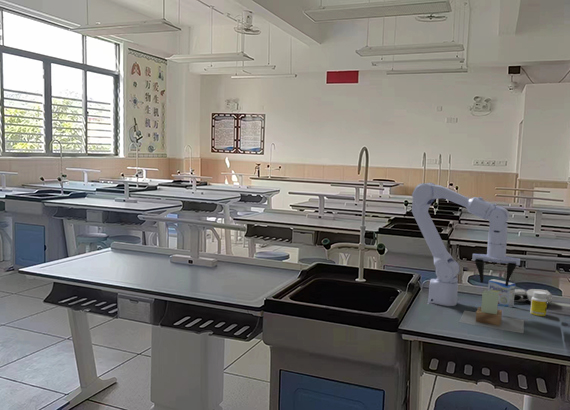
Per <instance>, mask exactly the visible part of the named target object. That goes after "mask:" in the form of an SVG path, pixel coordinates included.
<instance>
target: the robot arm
mask: <svg viewBox="0 0 570 410" xmlns="http://www.w3.org/2000/svg"><path fill="white" fill-rule="evenodd" d="M411 197H412V205H411V213H412V215H413V217H414V220H415V221H416V223H417V226H418V229H419V230H420V232H421V235H422V236H423V238H424V240H425V242H426V245H427V247H428V248H429V251H430V253H431V254H432V257H433V265H434V267H435V276H436V278H430V279H429V280H430V281H429V286H428V300H427V305H429V304H436V305H441V306H446V307H455V306H456V305H457V303H458V302H457V300H458V291H459V289H458V288H459V287H458V286H459V279H458V275H459V274H460V272H461V267H460V264H459V263H458V262H457V261H456V260H455V259H454V258H453V256H452V254H450V252H448V250H447V248H446V246H445V244H444V241H443V240H442V238H441V236H440V233H439V232H438V229H437V228H436V226H435V223H434V222H433V220H432V217H431V215H430V214H429V209H430V206H431V205H432V203H433V202H434V201H435V200H437V199H438V200H441V199H444V200H447V201H450V202H452V203H455V204H457V205H460V206H462V207H464V208H466V211H467V213H469V214H472V215H473V216H476V217H478V218H479V219H480V218H481V219H483V220H485V221H486V220H488V222H489V226H488V227H489V229H488V235H487V248H486V250H487V251H486V254H484V253H472V257H471V258H472V259H471V260H472V261H475V266H476V268H477V271H478V274H479V279H480V280H479V281H480V283H482V284H483V283H484V279H485V278H484V277H485V276H484V274H485V273H484V270H485V268H484V267H485V262H489V263H491V262H492V263H497V264H498V263H500V264H507V265H506V278H505V281H506V284H505V286H508V282H510V278H511V277H512V275H513V273H514V271H515V270H516V268H517V266H520V265H521V258H516V257H512V256H507V255H506V253H507V243H508V241H507V240H508V221H509V219H510V212H509V210H507V208H505V207H504V206H501V205H500V206H498V204H497V203H495V202H494V203H491V202H489V201H486V200H485V199H484V198H483V197H482V196H479V197H477V196H474V197H471V198H470V197H467V196H466V195H463V194H461V193H459V192H456V191H454V190H452V189H451V188H448V187H446V186H443V185H440V184H435V183H433V182H426V183H425V182H421V183H418V184H417V185H416V186H415V187H414V189H413V191H412V193H411Z"/></svg>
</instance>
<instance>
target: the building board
mask: <svg viewBox="0 0 570 410" xmlns="http://www.w3.org/2000/svg"><path fill="white" fill-rule="evenodd" d="M476 312H477V311H475V312H474V311H469V310H463V313H462V315H461V317H460V319H459V321H458V323H459V324H466V325H471V326H477V327H483V328H489V329H494V330H495V329H496V330H501V331H506V332H512V333H518V334H524V326H525V319H518V318H512V317H506V316H502V317H501V323H500V326H498V325H492V324H486V323H480V322H476Z"/></svg>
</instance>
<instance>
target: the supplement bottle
mask: <svg viewBox="0 0 570 410" xmlns="http://www.w3.org/2000/svg"><path fill="white" fill-rule="evenodd" d="M546 297H547V293H545V292H542V291H533V297H532V298H531V302H530V311H529V314H530V315H532V316H536V317H546V316H547V310H548V309H547V308H548V303H547V299H546Z"/></svg>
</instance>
